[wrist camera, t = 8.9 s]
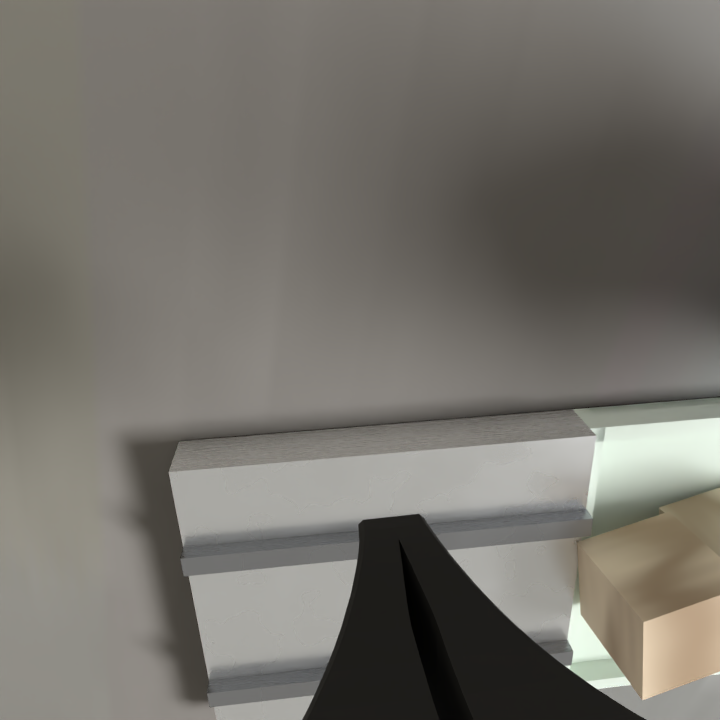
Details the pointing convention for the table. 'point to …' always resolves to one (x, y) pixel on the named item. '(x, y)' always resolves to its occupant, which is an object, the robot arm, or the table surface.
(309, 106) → the table surface
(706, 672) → the tan cube
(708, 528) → the wooden cube
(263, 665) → the slotted bed
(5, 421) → the table surface
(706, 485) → the tray
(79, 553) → the table surface
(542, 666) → the robot arm
